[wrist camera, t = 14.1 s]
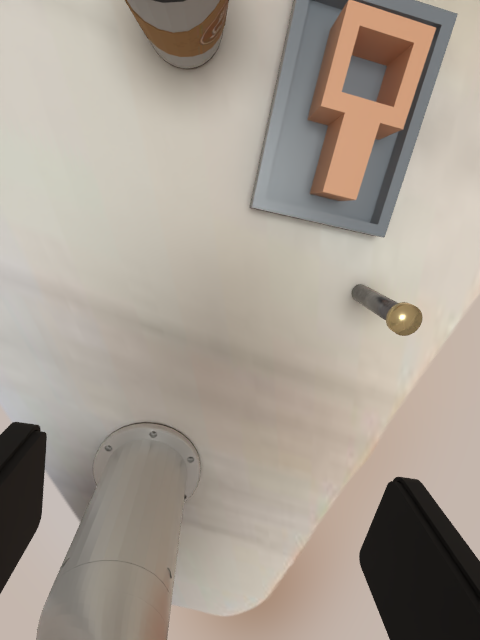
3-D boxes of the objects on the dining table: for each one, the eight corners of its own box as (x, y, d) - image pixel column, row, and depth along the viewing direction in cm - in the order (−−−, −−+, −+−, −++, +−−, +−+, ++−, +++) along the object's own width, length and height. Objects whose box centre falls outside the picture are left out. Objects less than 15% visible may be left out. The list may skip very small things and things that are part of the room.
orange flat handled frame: (405, 53, 30) (436, 27, 26) (358, 206, 34) (377, 205, 30) (330, 29, 30) (348, -1, 25) (289, 188, 33) (300, 185, 29)
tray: (373, 235, 36) (384, 237, 33) (249, 207, 34) (251, 207, 32) (439, 28, 31) (457, 13, 28) (296, -15, 29) (303, -35, 27)
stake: (367, 306, 38) (415, 338, 29) (344, 301, 38) (386, 332, 28) (375, 283, 37) (426, 308, 28) (352, 278, 37) (396, 302, 28)
